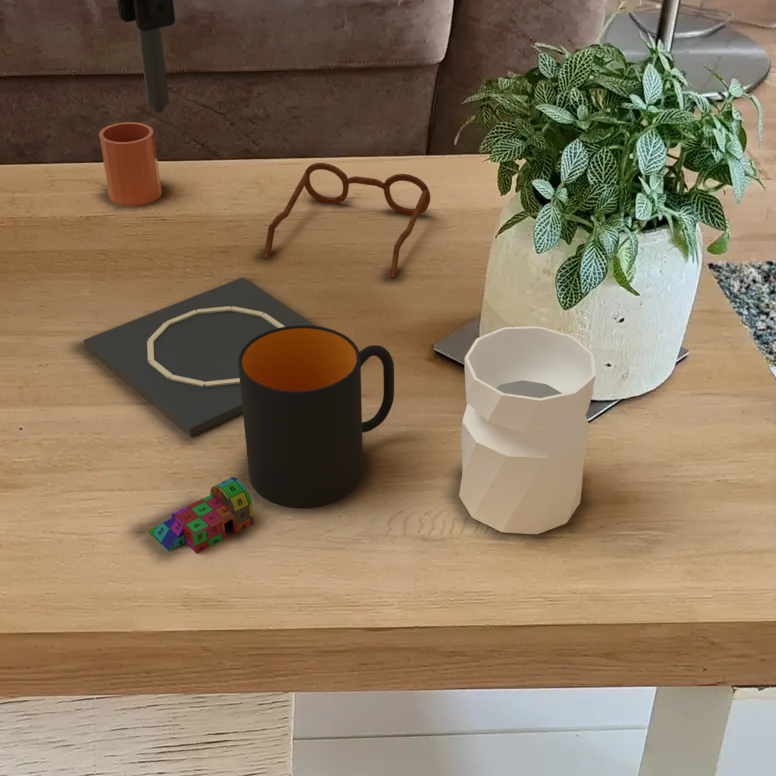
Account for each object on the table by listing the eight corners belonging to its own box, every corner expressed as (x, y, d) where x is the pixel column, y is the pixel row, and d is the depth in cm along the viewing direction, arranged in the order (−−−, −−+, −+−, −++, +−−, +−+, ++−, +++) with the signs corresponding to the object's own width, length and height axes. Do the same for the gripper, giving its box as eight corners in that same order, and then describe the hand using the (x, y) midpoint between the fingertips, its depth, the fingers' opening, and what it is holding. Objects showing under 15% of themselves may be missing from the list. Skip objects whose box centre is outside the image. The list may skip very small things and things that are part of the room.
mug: (426, 463, 87) (428, 347, 80) (288, 528, 81) (279, 407, 75) (362, 410, 92) (360, 296, 86) (228, 467, 86) (215, 349, 80)
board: (191, 441, 88) (189, 426, 87) (85, 351, 97) (82, 337, 96) (355, 363, 97) (355, 349, 96) (244, 288, 106) (242, 274, 105)
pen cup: (126, 214, 117) (116, 148, 112) (100, 196, 120) (89, 131, 115) (171, 199, 120) (163, 134, 115) (144, 181, 122) (135, 117, 118)
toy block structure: (221, 497, 83) (216, 460, 81) (254, 527, 81) (250, 489, 79) (147, 534, 80) (140, 497, 78) (179, 566, 78) (173, 528, 76)
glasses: (431, 219, 118) (431, 173, 114) (394, 282, 108) (394, 233, 104) (307, 201, 120) (305, 156, 117) (260, 262, 110) (256, 213, 107)
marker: (155, 116, 98) (135, -46, 90) (143, 109, 99) (122, -51, 91) (174, 111, 99) (157, -50, 91) (163, 104, 100) (144, -55, 92)
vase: (513, 446, 89) (524, 311, 81) (604, 499, 84) (624, 362, 77) (433, 498, 84) (436, 359, 76) (524, 558, 79) (538, 417, 72)
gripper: (14, -250, 85) (58, 6, 97) (124, -217, 76) (158, 61, 88) (106, -258, 89) (138, -11, 101) (221, -227, 80) (242, 40, 92)
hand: (147, 20), depth 94 cm, fingers closed on marker, 2 cm apart
